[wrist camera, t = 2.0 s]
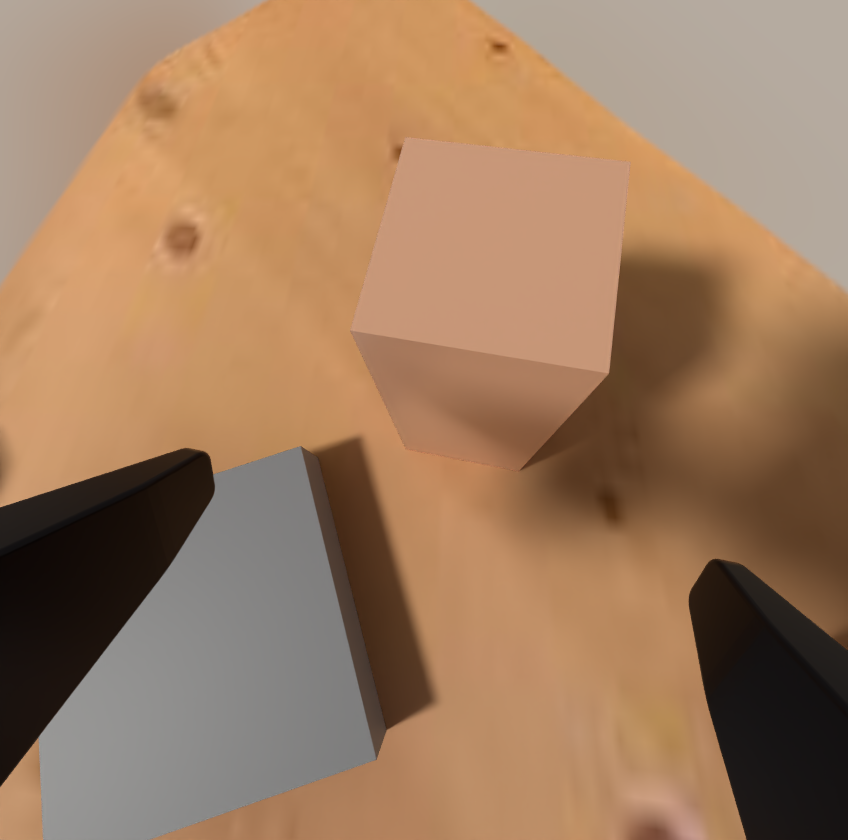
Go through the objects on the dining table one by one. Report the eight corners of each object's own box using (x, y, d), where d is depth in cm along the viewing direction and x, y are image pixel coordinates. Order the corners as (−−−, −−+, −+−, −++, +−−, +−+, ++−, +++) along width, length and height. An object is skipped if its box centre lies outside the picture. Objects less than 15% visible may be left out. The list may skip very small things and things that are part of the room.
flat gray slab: (388, 725, 18) (376, 759, 15) (111, 822, 18) (44, 876, 15) (320, 459, 21) (300, 446, 18) (87, 535, 21) (30, 534, 18)
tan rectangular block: (518, 471, 20) (609, 373, 9) (405, 449, 21) (350, 330, 9) (534, 365, 22) (630, 161, 10) (428, 348, 22) (405, 137, 11)
